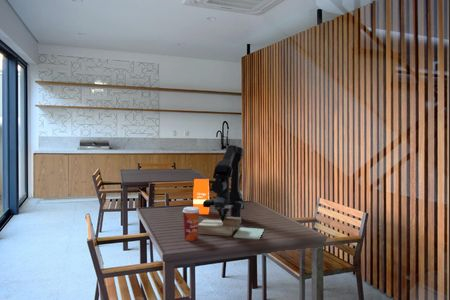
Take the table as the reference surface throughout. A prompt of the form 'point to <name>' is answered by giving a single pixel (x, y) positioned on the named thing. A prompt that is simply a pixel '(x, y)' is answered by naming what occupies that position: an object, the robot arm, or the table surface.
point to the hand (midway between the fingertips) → (222, 221)
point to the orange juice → (201, 194)
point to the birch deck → (214, 228)
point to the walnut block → (232, 221)
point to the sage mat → (249, 233)
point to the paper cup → (191, 223)
